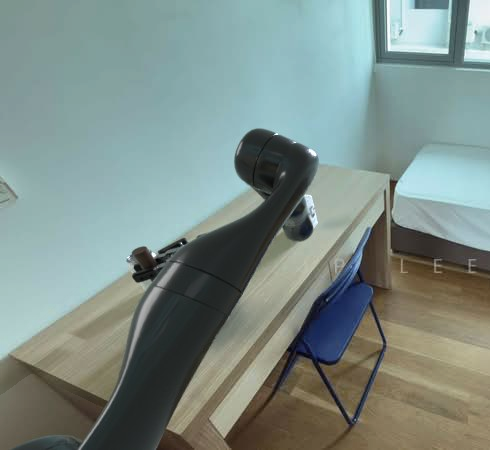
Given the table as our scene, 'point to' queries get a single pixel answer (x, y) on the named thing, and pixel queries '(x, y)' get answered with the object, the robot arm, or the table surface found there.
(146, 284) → the can
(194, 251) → the robot arm
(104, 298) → the table surface
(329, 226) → the table surface
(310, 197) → the ink box
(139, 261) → the brown post with base
